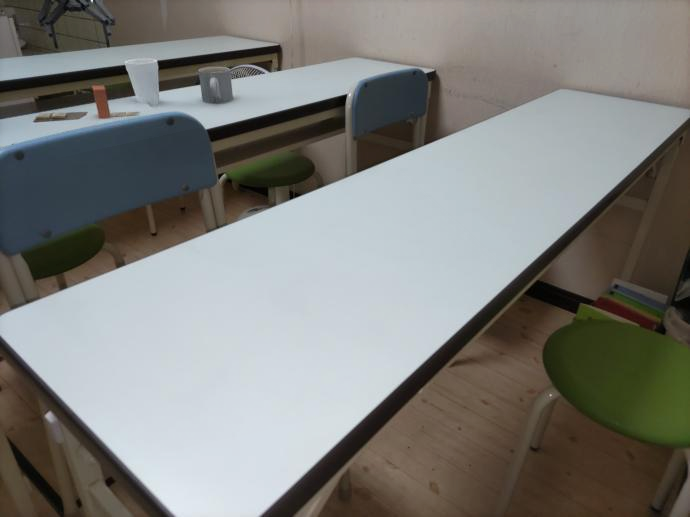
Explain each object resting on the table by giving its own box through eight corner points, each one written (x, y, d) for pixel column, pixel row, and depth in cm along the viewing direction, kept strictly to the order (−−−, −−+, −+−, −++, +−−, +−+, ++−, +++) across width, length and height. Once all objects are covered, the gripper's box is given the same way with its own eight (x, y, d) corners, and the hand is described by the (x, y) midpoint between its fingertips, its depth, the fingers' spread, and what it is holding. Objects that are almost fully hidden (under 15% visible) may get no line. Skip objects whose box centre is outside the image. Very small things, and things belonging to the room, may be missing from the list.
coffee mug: (208, 97, 174) (204, 66, 168) (236, 98, 173) (233, 67, 168) (194, 107, 162) (190, 74, 157) (225, 108, 161) (221, 75, 156)
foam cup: (127, 104, 162) (118, 61, 156) (153, 99, 168) (146, 57, 162) (143, 109, 157) (135, 65, 150) (170, 103, 163) (163, 61, 157)
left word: (34, 124, 141) (32, 119, 140) (40, 116, 147) (38, 111, 146) (85, 122, 144) (84, 117, 143) (89, 115, 150) (87, 109, 150)
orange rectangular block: (99, 119, 144) (93, 90, 140) (98, 114, 148) (92, 86, 143) (111, 118, 145) (105, 89, 141) (109, 113, 149) (103, 85, 145)
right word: (94, 124, 143) (92, 118, 142) (97, 116, 149) (96, 111, 149) (139, 122, 146) (138, 116, 145) (140, 114, 153) (139, 109, 152)
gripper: (115, -8, 158) (129, 51, 154) (23, -9, 148) (35, 54, 144) (113, -27, 151) (128, 35, 147) (16, -29, 141) (30, 37, 137)
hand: (82, 45), depth 146 cm, fingers open, 13 cm apart
